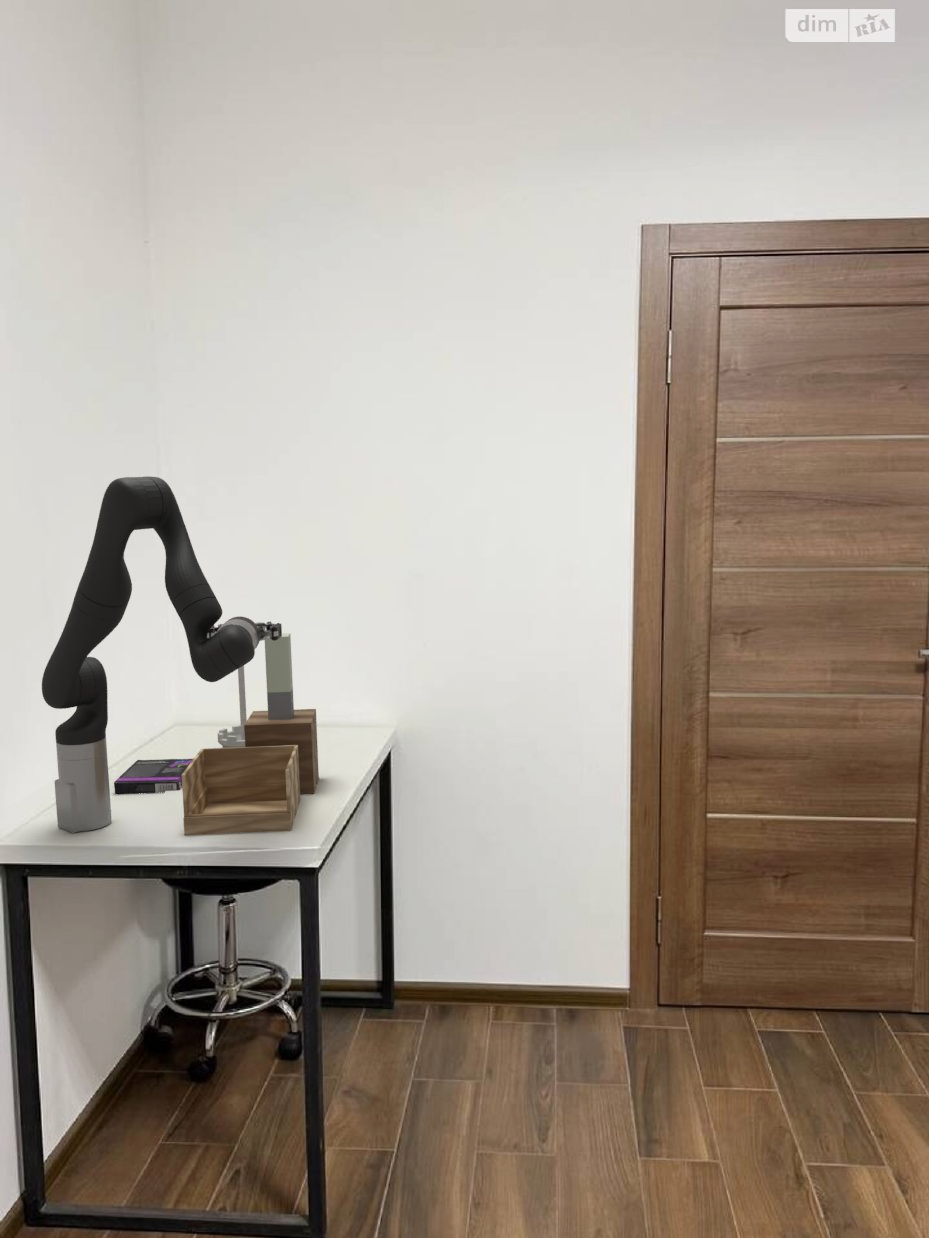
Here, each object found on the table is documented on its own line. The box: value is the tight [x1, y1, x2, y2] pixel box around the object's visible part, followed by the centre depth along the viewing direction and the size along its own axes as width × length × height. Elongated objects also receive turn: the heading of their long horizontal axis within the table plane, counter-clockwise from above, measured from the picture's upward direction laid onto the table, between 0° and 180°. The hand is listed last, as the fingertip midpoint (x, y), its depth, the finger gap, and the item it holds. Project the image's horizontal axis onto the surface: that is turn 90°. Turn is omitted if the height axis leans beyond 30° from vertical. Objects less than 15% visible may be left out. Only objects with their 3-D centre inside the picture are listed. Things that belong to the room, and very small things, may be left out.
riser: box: [244, 708, 320, 796], centre depth 224 cm, size 14×14×16 cm
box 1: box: [113, 758, 194, 795], centre depth 233 cm, size 14×4×20 cm
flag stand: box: [217, 665, 248, 748], centre depth 256 cm, size 13×13×30 cm
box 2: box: [264, 632, 295, 720], centre depth 221 cm, size 5×5×18 cm
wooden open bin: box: [181, 745, 301, 836], centre depth 204 cm, size 21×20×12 cm
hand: (248, 627), depth 206 cm, fingers open, 8 cm apart
